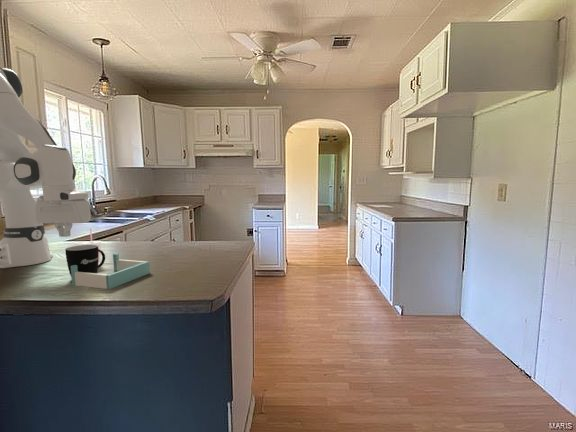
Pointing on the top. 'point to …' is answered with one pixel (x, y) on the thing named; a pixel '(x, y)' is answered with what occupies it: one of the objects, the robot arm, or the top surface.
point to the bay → (125, 273)
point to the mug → (84, 258)
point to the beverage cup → (93, 244)
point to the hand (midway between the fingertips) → (64, 236)
